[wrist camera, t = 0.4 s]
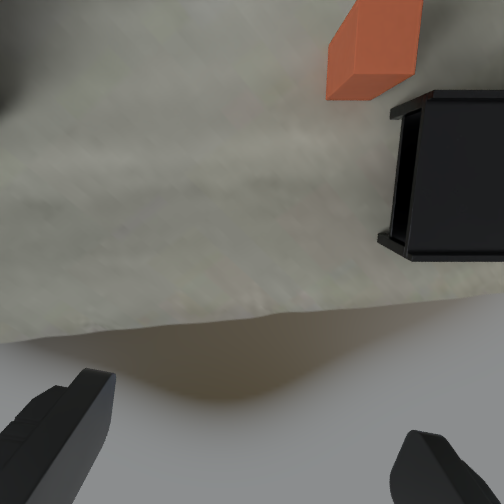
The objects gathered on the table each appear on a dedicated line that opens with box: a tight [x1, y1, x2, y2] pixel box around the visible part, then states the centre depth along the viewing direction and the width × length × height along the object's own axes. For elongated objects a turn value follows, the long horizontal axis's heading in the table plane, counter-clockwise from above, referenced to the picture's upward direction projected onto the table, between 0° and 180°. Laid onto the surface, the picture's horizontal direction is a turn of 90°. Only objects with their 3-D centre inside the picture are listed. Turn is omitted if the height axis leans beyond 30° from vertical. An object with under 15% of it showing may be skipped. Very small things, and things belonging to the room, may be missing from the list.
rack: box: [377, 90, 504, 262], centre depth 30 cm, size 14×16×8 cm
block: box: [326, 0, 423, 100], centre depth 27 cm, size 5×5×9 cm
